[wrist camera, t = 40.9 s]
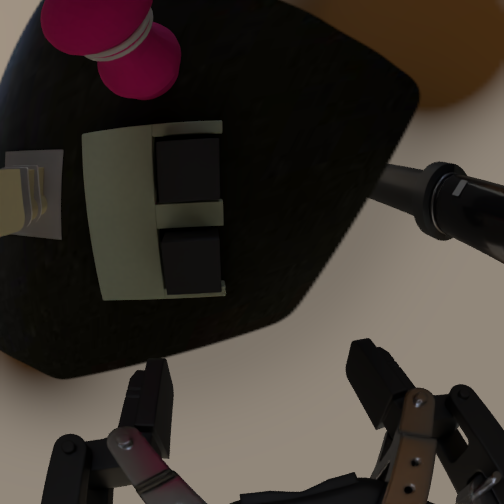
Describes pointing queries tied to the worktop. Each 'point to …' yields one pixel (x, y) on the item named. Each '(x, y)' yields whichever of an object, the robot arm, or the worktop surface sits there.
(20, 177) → the stacked layers on plate
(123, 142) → the pale green e-shaped block
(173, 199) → the dark charcoal cube
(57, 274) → the worktop surface
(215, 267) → the black block
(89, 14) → the pepper mill
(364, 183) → the worktop surface
